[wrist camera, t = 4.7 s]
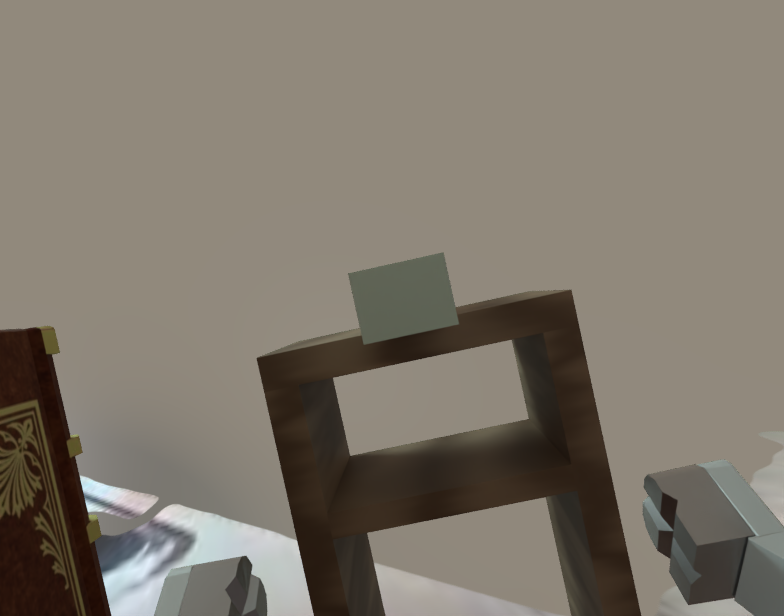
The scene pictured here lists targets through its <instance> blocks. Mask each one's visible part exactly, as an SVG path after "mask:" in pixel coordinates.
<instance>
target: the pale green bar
mask: <svg viewBox="0 0 784 616" xmlns="http://www.w3.org/2000/svg"><path fill="white" fill-rule="evenodd" d="M348 275H349V280H350V285H351V289H352V294H353V298H354V302H355V307H356V312H357V316H358V321H359V326H360V330H361V335H362V339H363V344H364V345H365V344H370V343H374V342H379V341H384V340H388V339H393V338H397V337H402V336H407V335H411V334H416V333H421V332H425V331H430V330H435V329H439V328H444V327H448V326H453V325H458V324H459V322H458V317H457V313H456V308H455V303H454V299H453V294H452V290H451V285H450V280H449V276H448V271H447V267H446V262H445V257H444V253H439V254H434V255H430V256H425V257H421V258H416V259H412V260H407V261H403V262H398V263H394V264H390V265H385V266H380V267H376V268H371V269H367V270H362V271H357V272H354V273H348Z"/></svg>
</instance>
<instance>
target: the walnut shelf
mask: <svg viewBox="0 0 784 616" xmlns="http://www.w3.org/2000/svg"><path fill="white" fill-rule="evenodd" d="M455 308H456V313H457V317H458V322H459V324H458V325H453V326H448V327H444V328H439V329H435V330H430V331H425V332H421V333H416V334H411V335H407V336H402V337H397V338H393V339H388V340H384V341H379V342H374V343H370V344H365V345H364V344H363V339H362V335H361V330H360V328H358V329H354V330H349V331H344V332H340V333H335V334H331V335H326V336H321V337H317V338H313V339H308V340H303V341H299V342H296V343H293V344H291V345H288V346H286V347H284V348H281V349H278V350H276V351H273V352H270V353H268V354H265V355H263V356H260V357H258V358H257V362H258V366H259V371H260V375H261V379H262V384H263V389H264V393H265V398H266V402H267V407H268V411H269V416H270V420H271V424H272V429H273V434H274V438H275V443H276V447H277V451H278V456H279V461H280V465H281V470H282V474H283V478H284V483H285V488H286V492H287V497H288V501H289V506H290V509H291V514H292V519H293V523H294V528H295V532H296V537H297V541H298V546H299V550H300V555H301V559H302V564H303V568H304V573H305V577H306V582H307V586H308V591H309V595H310V600H311V604H312V609H313V613H314V616H385V612H384V608H383V603H382V599H381V594H380V590H379V585H378V580H377V576H376V571H375V567H374V562H373V558H372V553H371V549H370V544H369V540H368V535H367V533H368V532H373V531H378V530H383V529H388V528H393V527H398V526H402V525H408V524H413V523H418V522H423V521H428V520H433V519H438V518H443V517H448V516H453V515H458V514H463V513H467V512H473V511H478V510H483V509H488V508H493V507H498V506H503V505H508V504H513V503H518V502H523V501H528V500H533V499H538V498H543V497H546V500H547V505H548V509H549V514H550V519H551V523H552V528H553V532H554V537H555V542H556V546H557V551H558V556H559V560H560V565H561V569H562V574H563V578H564V583H565V588H566V593H567V597H568V602H569V606H570V611H571V616H641V612H640V608H639V603H638V598H637V594H636V589H635V585H634V580H633V575H632V570H631V566H630V561H629V556H628V552H627V547H626V542H625V538H624V533H623V529H622V524H621V519H620V515H619V510H618V505H617V500H616V496H615V491H614V487H613V482H612V477H611V472H610V468H609V463H608V458H607V454H606V449H605V445H604V440H603V435H602V431H601V426H600V422H599V417H598V412H597V407H596V402H595V398H594V393H593V389H592V384H591V379H590V375H589V370H588V365H587V361H586V356H585V352H584V347H583V342H582V337H581V333H580V328H579V324H578V319H577V314H576V309H575V305H574V300H573V295H572V291H571V290H553V291H530V292H524V293H519V294H515V295H510V296H506V297H501V298H497V299H492V300H487V301H483V302H478V303H474V304H469V305H464V306H460V307H455ZM507 340H512V343H513V347H514V352H515V357H516V361H517V366H518V371H519V375H520V380H521V384H522V389H523V393H524V398H525V403H526V408H527V412H528V417H529V419H527V420H522V421H518V422H513V423H508V424H503V425H498V426H493V427H489V428H484V429H479V430H475V431H469V432H464V433H459V434H455V435H450V436H446V437H440V438H435V439H431V440H426V441H421V442H416V443H411V444H406V445H401V446H397V447H392V448H387V449H382V450H377V451H373V452H367V453H363V454H358V455H353V456H350V454H349V449H348V445H347V440H346V436H345V431H344V426H343V422H342V418H341V413H340V408H339V404H338V399H337V395H336V390H335V386H334V382H333V377H338V376H343V375H348V374H352V373H357V372H362V371H366V370H371V369H376V368H380V367H385V366H389V365H395V364H399V363H403V362H408V361H413V360H418V359H422V358H427V357H432V356H437V355H441V354H446V353H451V352H455V351H460V350H464V349H470V348H474V347H479V346H484V345H488V344H493V343H497V342H502V341H507Z"/></svg>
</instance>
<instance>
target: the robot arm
mask: <svg viewBox="0 0 784 616" xmlns="http://www.w3.org/2000/svg"><path fill="white" fill-rule="evenodd" d="M644 489H645V490H646V492H647V494H648V495H649V496H648V497H647V498H646V499H645V500H644V502H643V516H644V521H645V525H646V528H647V531H648V533H649V535H650V538H651V540H652V541H653V543H654V545H655V547H656V549H657V551H659V552H660V553H662V554H663V555H665V556H667V557H668V558H670V570H669V572H670V574H671V576H672V578H673V579H674V581H675V583H676V585H677V586H678V588H679V590H680V592H681V593H682V595H683V597H684V599H685V600H686V602H687V604H688V605H692V604H698V603H705V602H711V601H717V600H723V599H730V598H735V601H736V602H737V603H739V604H740V605H741V606H743V607H744V608H745V609H746V610H748V611H749V612H750V613H752V614H753V615H754V616H784V526H783V525H782V524H781V523H780V521H779V520H778V519H777V518H776V517H775V515H774V514H773V513H772V512H771V511H770V509H769V508H768V507H767V506H766V505H765V503H764V502H763V501H762V500H761V499H760V497H759V496H758V495H757V494H756V493H755V491H754V490H753V489H752V488H751V487H750V485H749V484H748V483H747V482H746V481H745V479H743V477H742V476H741V475H740V474H739V472H738V471H737V470H736V469H735V467H734V466H733V465H732V464H731V463H730V462H728V461H726V460H725V459H724V460H717V461H712V462H708V463H703V464H699V465H695V464H694V465H690V466H685V467H681V468H676V469H671V470H667V471H663V472H658V473H653V474H648V475H647V476H646V477H645V479H644ZM251 571H252V564H251V562H250V561H249V559H248V558H247V556H242V557H236V558H231V559H225V560H220V561H214V562H208V563H203V564H196V565H191V566H186V567H181V568H176V569H171V571H170V572H169V574H168V575H167V577H166V578H165V581H164V585H163V588H162V591H161V594H160V598H159V601H158V604H157V607H156V611H155V614H154V616H267V598H266V593H265V589H264V585H263V583H262V582H261V580H260V578H258V577H256V576H254V575H252V574H251Z"/></svg>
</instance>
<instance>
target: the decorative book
mask: <svg viewBox="0 0 784 616" xmlns="http://www.w3.org/2000/svg"><path fill="white" fill-rule="evenodd" d="M57 353H60V351H59V346H58V342H57V338H56V333H55V329H54V328H53V327H51V326H43V327H35V328H28V329H8V330H0V616H111V612H110V608H109V604H108V599H107V595H106V591H105V586H104V582H103V577H102V573H101V569H100V564H99V560H98V555H97V551H96V547H95V542H94V541H95V540H96V539H97V538H99V537H100V536H101V531H100V527H99V522H98V519H97V516H96V515H88V511H87V507H86V503H85V498H84V494H83V490H82V485H81V481H80V476H79V472H78V468H77V463H76V459H75V456H76V455H79V454H81V453H82V448H81V443H80V439H79V435H70V433H69V428H68V424H67V420H66V415H65V410H64V406H63V402H62V397H61V394H60V389H59V385H58V380H57V376H56V371H55V367H54V362H53V358H52V354H57Z"/></svg>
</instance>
